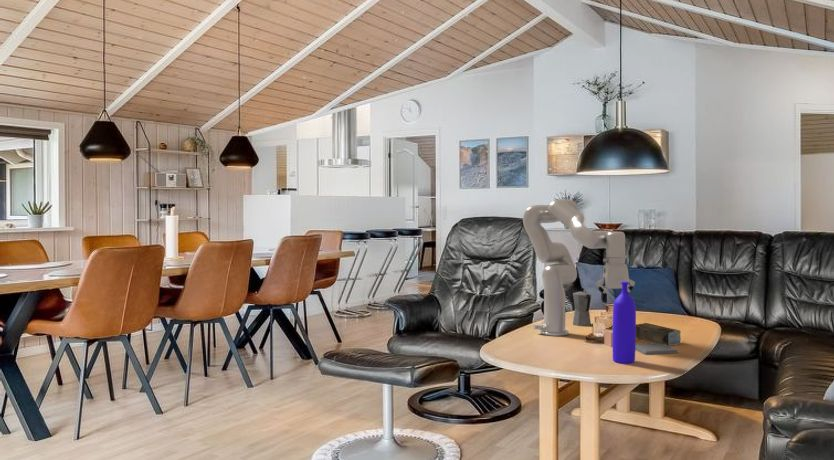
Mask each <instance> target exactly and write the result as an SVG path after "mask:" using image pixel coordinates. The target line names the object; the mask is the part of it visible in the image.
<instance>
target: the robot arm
mask: <svg viewBox="0 0 834 460" xmlns="http://www.w3.org/2000/svg"><path fill="white" fill-rule="evenodd" d="M584 221H585V216H584V214H583V213H581V212H580V211H579V207H578V204H577V202H576V201H575V200H574V199H566V198H565V199H564V198H559V199H554V200H553V201H551V202H550V203H549V204H535V205H531V206H529V207H527V208H525V211H524V213H523V217H522V223H523V225H522V226H523V228H524V230H525V232H526V233H527V235H528V238H529V240H530V242H531V245H532V247H533V250H534V252H535V254H536V256H537V259H538V261H539V262H540V263H542V264H548V265H547V266H545V267H544V268H543V269H542V273H541V278H542V284H543V322H542V323H541V324H537V325H536V324H534V325H533V329H534V330H538V331H540V334H542V335H545V336H550V337H551V336H553V337H559V336H560V337H562V336H568V335H569V330H567V329H566V290H565V289H564V285H568V284H572V283H574V282H575V281H576V279H577V276H578V271H577V267H576V265H575V262H574V260H573V258H572V256H571V254H570V253H571V252H570V251H569V249H568V247H567V246H566V245H565V244H564V243H562V242H558V241H557V242H556V241H555V242H553V241H552V240H551V238H550V235H549V233H548V231H547V230H546V228H544V227H543V226H542V225H541V224H551V223H552V224H553V223H557V222H560V223H561V224H563V225H564V226H565V227H566V228H568V229H569V230H570V234H571V235H572V237H573V238H574V239H575V240H576V242H578V243H579V244H581V245H582V246H584V247H585V248H587V249H590V250H593V249H594V250H595V249H606V251H605V258H603V259H602V261H603V263H605V264H604V266H603V272H602V278H600V279H599V280H598V281H596V282H595V283H594V284H595V286H596V287H597V290H598V291H599V292H600V293H601V294H600V297H601V303H604V304H607V302H608V293H607V292H608V291H609V290H619V289H621V290H622V284H621V282H629V284H628V286H627V291H628V294H629V295H630V293H631V291H632V290H633V289H634V287H635V285H636V281H634V280H632V279H631V278H630V276H629V268H628V264H626V235H625V233H624V232H623V231H608V230H592V229H589V228H588V227H587V226H585V224H584ZM601 284H602V286H601Z"/></svg>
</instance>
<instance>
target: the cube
mask: <svg viewBox="0 0 834 460" xmlns="http://www.w3.org/2000/svg"><path fill="white" fill-rule="evenodd" d="M603 333H604V334H603V335H604V338H603V339H604V341H603V344H604V345H605V346H608V347H610V348H613V329H605V330H604V332H603Z"/></svg>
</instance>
